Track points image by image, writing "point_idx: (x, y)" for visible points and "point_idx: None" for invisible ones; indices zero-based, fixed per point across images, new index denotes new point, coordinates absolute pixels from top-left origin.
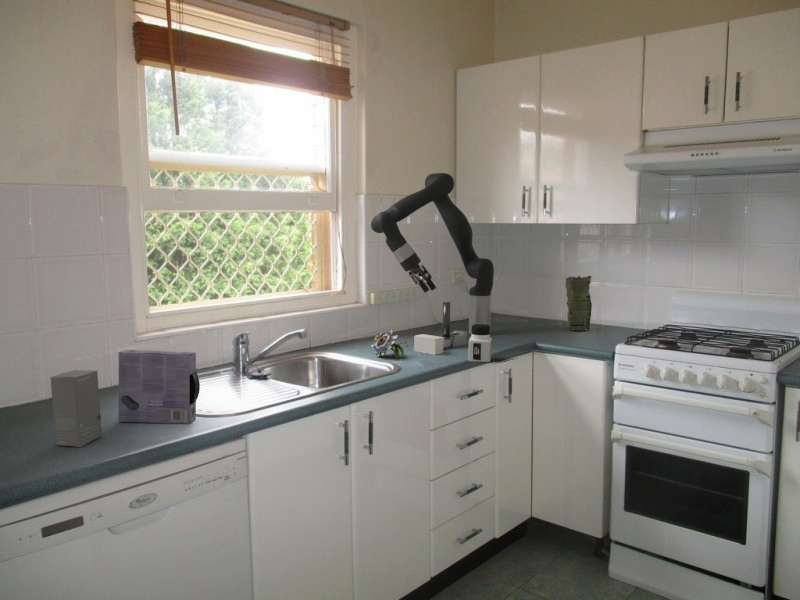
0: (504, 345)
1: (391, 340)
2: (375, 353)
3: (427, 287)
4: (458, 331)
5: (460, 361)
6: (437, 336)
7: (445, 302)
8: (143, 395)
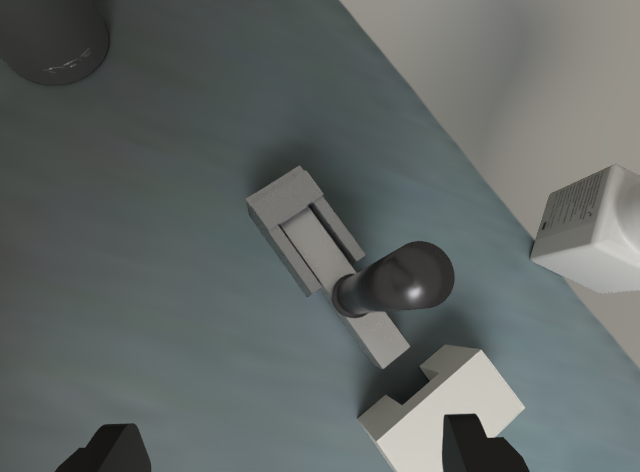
0: (338, 57)
1: None
2: None
3: (109, 463)
4: (279, 202)
5: (598, 324)
6: (458, 374)
7: (433, 289)
8: None
